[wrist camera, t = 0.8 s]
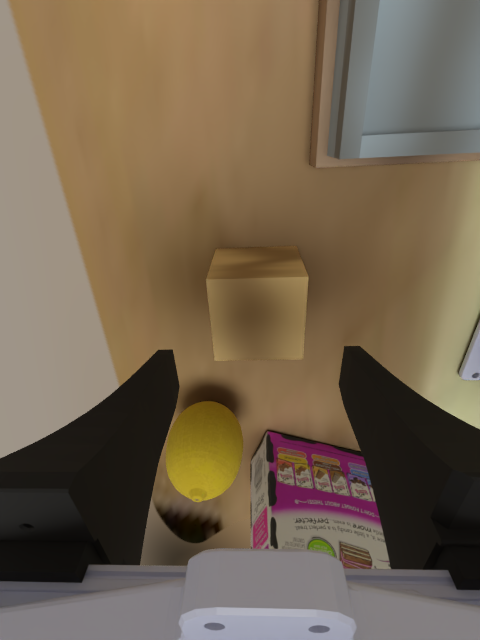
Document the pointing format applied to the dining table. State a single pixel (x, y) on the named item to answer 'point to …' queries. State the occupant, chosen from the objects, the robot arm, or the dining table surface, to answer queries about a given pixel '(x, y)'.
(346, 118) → the grey storage bin
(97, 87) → the dining table surface
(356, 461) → the candy bar box
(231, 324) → the wooden block
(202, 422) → the lemon
